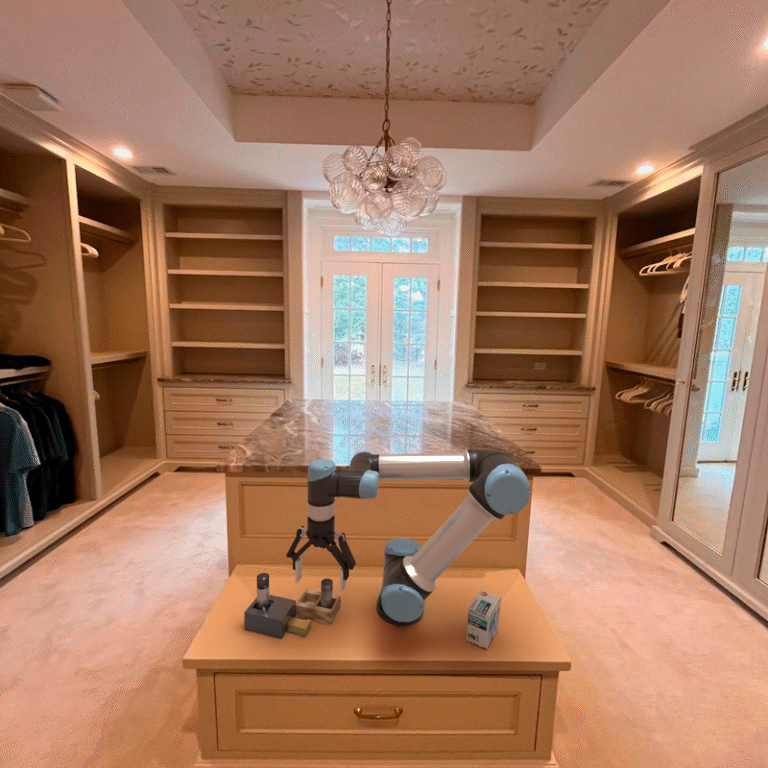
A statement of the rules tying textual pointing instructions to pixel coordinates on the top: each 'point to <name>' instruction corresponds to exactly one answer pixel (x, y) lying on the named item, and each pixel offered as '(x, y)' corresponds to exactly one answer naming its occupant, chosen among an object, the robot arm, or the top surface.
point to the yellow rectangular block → (298, 626)
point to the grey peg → (263, 591)
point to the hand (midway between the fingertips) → (320, 584)
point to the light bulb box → (483, 618)
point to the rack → (319, 604)
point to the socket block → (270, 617)
